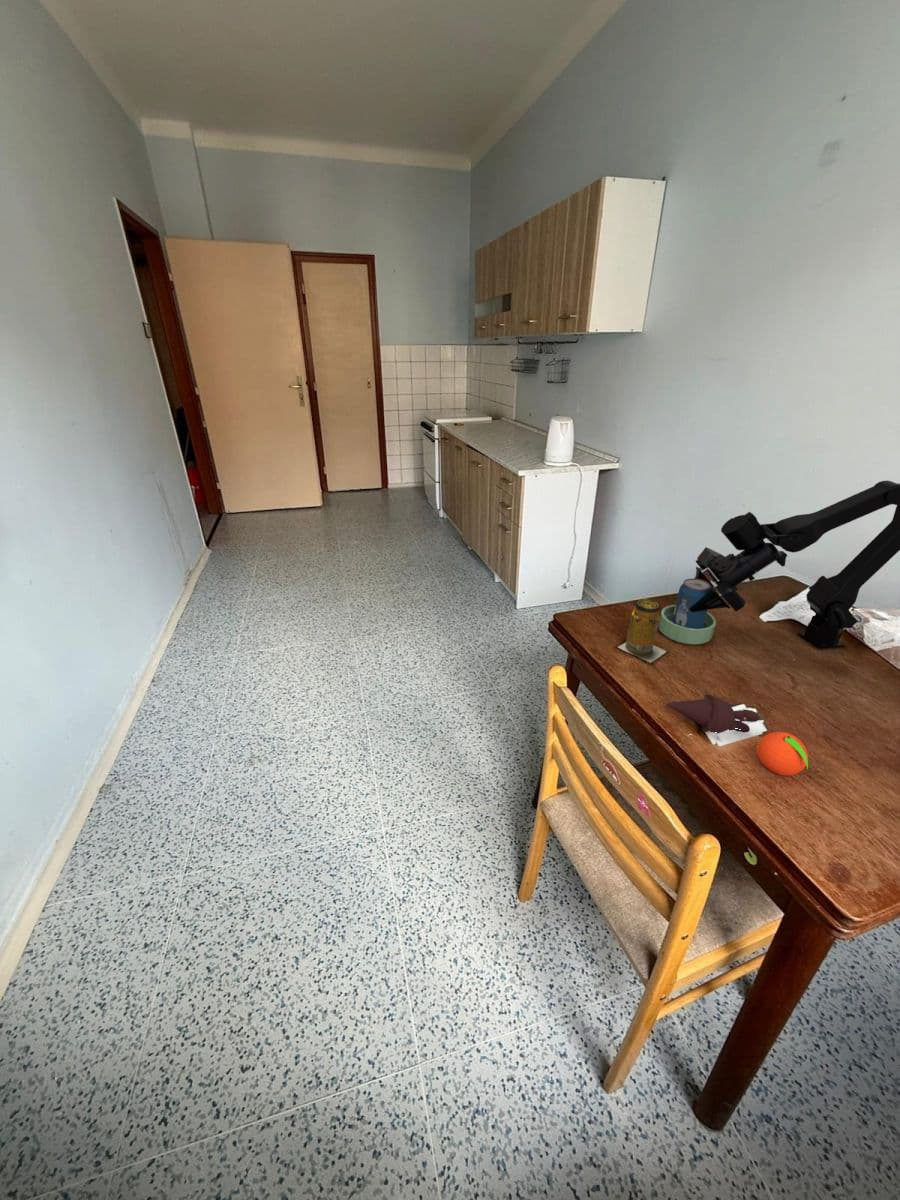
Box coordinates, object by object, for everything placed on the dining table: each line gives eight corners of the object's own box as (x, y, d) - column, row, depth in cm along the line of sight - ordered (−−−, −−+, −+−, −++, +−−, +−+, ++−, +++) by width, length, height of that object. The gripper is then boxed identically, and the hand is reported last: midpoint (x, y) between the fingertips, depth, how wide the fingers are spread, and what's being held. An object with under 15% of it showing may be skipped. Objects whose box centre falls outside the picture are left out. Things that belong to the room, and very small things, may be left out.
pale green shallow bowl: (693, 618, 124) (697, 603, 122) (722, 643, 113) (727, 627, 111) (649, 621, 123) (652, 606, 120) (673, 647, 112) (677, 631, 110)
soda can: (702, 623, 118) (713, 580, 113) (701, 636, 113) (713, 592, 107) (672, 617, 121) (682, 575, 115) (670, 630, 116) (680, 587, 110)
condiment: (634, 637, 116) (642, 594, 111) (666, 651, 110) (677, 607, 105) (617, 648, 112) (625, 604, 106) (650, 664, 106) (660, 618, 101)
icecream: (673, 709, 84) (766, 731, 80) (672, 677, 89) (759, 696, 85) (661, 730, 88) (749, 751, 85) (661, 698, 94) (743, 717, 90)
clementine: (816, 785, 77) (832, 753, 73) (779, 793, 75) (794, 761, 72) (776, 749, 83) (789, 719, 80) (742, 756, 82) (754, 725, 79)
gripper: (713, 525, 113) (656, 565, 120) (743, 554, 97) (676, 599, 104) (739, 556, 116) (683, 594, 123) (773, 590, 100) (706, 631, 107)
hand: (686, 603), depth 114 cm, fingers closed on soda can, 7 cm apart
